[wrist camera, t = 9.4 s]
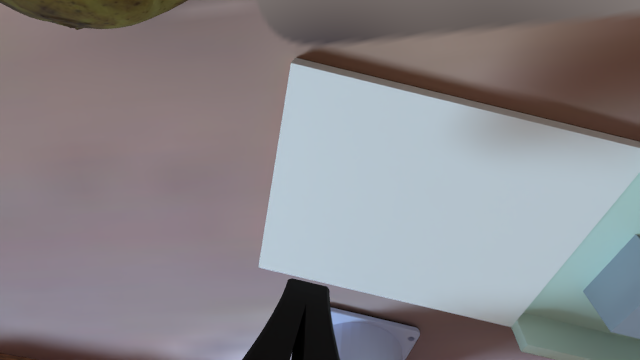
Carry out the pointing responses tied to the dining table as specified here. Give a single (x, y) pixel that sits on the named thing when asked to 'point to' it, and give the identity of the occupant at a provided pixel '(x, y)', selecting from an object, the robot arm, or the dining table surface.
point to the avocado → (92, 11)
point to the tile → (619, 291)
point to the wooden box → (13, 357)
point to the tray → (582, 295)
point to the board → (432, 193)
